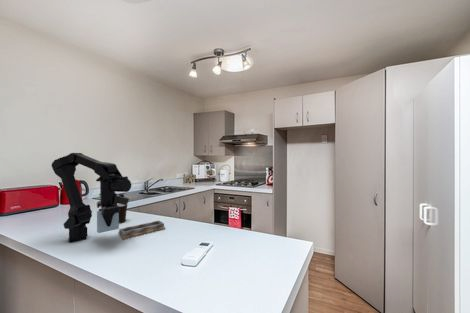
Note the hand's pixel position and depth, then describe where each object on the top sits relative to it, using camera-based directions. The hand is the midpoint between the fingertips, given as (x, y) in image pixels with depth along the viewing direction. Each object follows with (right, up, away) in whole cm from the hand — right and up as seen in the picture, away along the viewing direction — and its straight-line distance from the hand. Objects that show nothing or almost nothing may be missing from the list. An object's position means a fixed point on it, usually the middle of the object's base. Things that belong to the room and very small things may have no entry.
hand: (108, 225), depth 94 cm
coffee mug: (-11, -8, +30) cm, 33 cm away
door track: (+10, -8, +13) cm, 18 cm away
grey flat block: (0, -2, 0) cm, 2 cm away
